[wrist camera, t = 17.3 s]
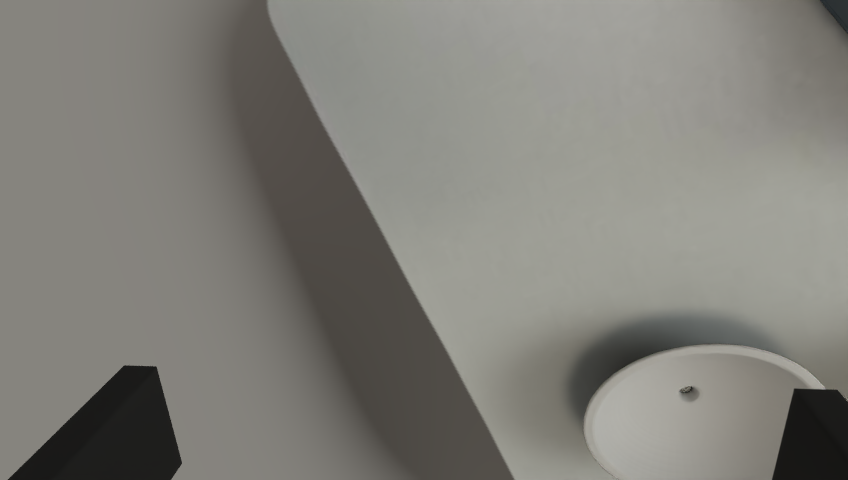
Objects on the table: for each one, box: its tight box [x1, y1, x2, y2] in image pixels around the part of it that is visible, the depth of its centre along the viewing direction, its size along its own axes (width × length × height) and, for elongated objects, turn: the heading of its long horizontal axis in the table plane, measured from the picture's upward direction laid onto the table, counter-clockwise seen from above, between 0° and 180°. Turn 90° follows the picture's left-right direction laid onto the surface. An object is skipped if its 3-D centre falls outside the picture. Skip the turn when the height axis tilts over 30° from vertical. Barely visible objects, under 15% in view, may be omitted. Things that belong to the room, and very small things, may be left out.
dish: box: [583, 344, 825, 480], centre depth 45 cm, size 18×14×5 cm
